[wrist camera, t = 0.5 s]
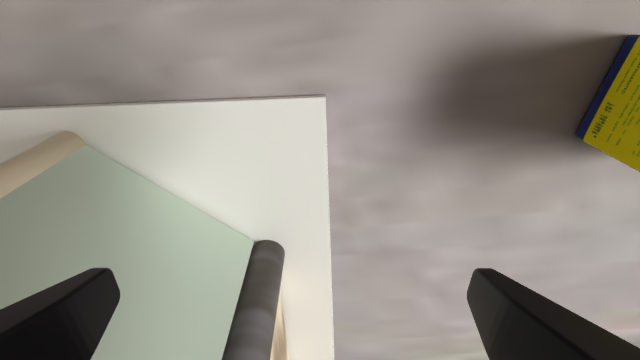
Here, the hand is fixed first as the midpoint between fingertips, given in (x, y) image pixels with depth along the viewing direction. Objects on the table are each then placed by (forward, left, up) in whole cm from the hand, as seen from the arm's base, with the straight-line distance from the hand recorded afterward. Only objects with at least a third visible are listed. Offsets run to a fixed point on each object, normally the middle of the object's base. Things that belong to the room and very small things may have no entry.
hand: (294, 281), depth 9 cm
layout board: (+6, -14, -13) cm, 20 cm away
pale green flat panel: (-1, -11, -12) cm, 16 cm away
